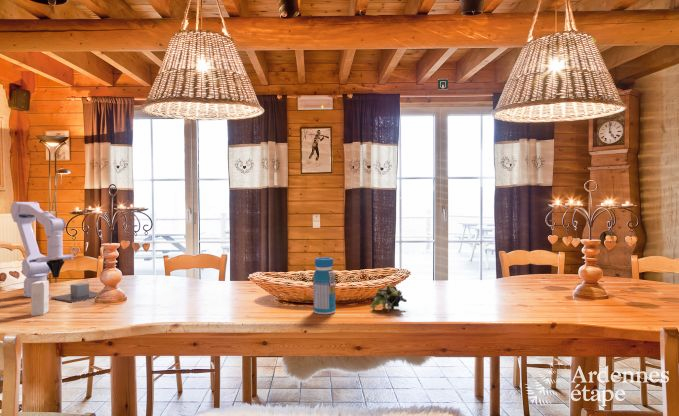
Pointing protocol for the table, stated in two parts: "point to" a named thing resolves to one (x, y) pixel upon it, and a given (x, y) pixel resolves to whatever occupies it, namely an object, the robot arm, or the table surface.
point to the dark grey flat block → (75, 299)
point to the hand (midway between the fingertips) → (55, 277)
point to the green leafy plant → (388, 297)
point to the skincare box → (39, 298)
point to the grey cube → (79, 289)
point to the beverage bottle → (324, 286)
